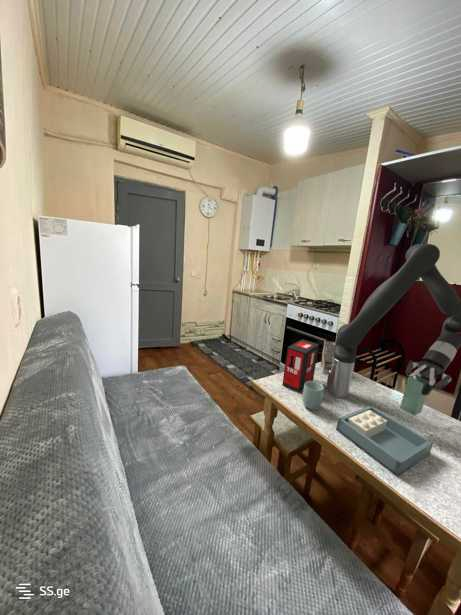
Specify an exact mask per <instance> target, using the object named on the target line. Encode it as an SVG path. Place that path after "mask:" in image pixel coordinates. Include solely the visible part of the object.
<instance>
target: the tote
mask: <svg viewBox="0 0 461 615" xmlns="http://www.w3.org/2000/svg"><path fill="white" fill-rule="evenodd" d="M368 410H371V411H373V412H374V413H375V414H377V415H379V416H381V417H382V418H383V419H385V420H387V424H386V428H385V430H384V431H382V432H380V433H378V434H376V435H374V436H372V437H370V438H369V437H367V436H366V435H364V434H363V433H362V432H360V431H359V430H357V429H356V428H355V427H353V426H352V425H350V424H349V423H348V419H349V418H351V417H353V416H356V415H358V414H361V413H363V412H366V411H368ZM335 430H336V431H337V432H338V433H339V434H341V435H342V436H343V437H344V438H346V439H347V440H349V441H350V442H351V443H352V444H354V445H355V446H356V447H357V448H359V449H360V450H362V452H364V453H365V454H367V455H368V456H369V458H372V459H373V460H374V461H376V462H377V463H378V464H379V465H381V467H383V468H385V469H386V470H387V471H389V473H391V474H392V475H394V476H395V477H399V476H401V475H402V474H403V473H405V472H407V471H408V470H410V469H411V468H412V467H414V466H415V465H416V464H418V463H420V462H421V461H423V460H424V459H425V458H427V457H428V456H430V453H431V451H432V447H433V444H434V442H433V441H431V440H429V439H428V438H426V437H425V436H423V435H422V434H420V433H418V432H416V431H414V430H412V429H411V428H410V427H408V426H406V425H405V424H403V423H401V422H399V421H398V420H396V419H394V418H392V417H391V416H389V415H388V414H386V413H385V412H382V411H381V410H379V409H377V408H376V407H374V406H373V405H367V406H366V407H364V408H361V409H359V410H356V411H353V412H351V413H347V414H346V415H343V416H341V417H338V418H337V423H336V428H335Z"/></svg>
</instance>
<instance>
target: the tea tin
mask: <svg viewBox="0 0 461 615" xmlns="http://www.w3.org/2000/svg"><path fill="white" fill-rule="evenodd" d="M407 377H408V376H407ZM407 379H408V381H407V385H406V384H405V389H404V392H403V396H402V400H401V404H400V406H399V408H400V409H401V410H403V411H405V412H407V413H408V414H410V415H412V416H416V415H419V414H421V413H422V410H423V407H424V404H425V401H426V397H427V395H426V396H424V395H423V393H422V392H423V391H424V389H425V388H426V386H427V385H429V381H430V380H428V379H427V378H425V377H424V378H423V376H421V377H419V376H417V375H414V376H411V377H408V378H407Z"/></svg>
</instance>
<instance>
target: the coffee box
mask: <svg viewBox="0 0 461 615" xmlns="http://www.w3.org/2000/svg"><path fill="white" fill-rule="evenodd" d="M323 342H324V343H323V344H324V345H323V349H322V354H321V355H322V356H321V361H320V369H321V372H322V374H325V375H328V373H329V371H330V370H331V367H332V362H333V356H334V349H335V343H336V341H329V340H324V341H323Z"/></svg>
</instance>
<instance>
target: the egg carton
mask: <svg viewBox="0 0 461 615" xmlns="http://www.w3.org/2000/svg"><path fill="white" fill-rule="evenodd" d="M348 423H349V424H350V425H352V426H353V427H355V428H356V429H357V430H359V431H360V432H362V433H363V434H364V435H366V436H367V437H369V438H370V437H372V436H374V435H376V434H378V433H380V432H382V431H384V430H385V428H386V424H387V420H385V419H383V418H382V417H381V416H379V415H377V414H375V413H374V412H373V411H371V410H368V411H366V412H363V413H361V414H358V415H356V416H353V417H351V418H349V419H348Z"/></svg>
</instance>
